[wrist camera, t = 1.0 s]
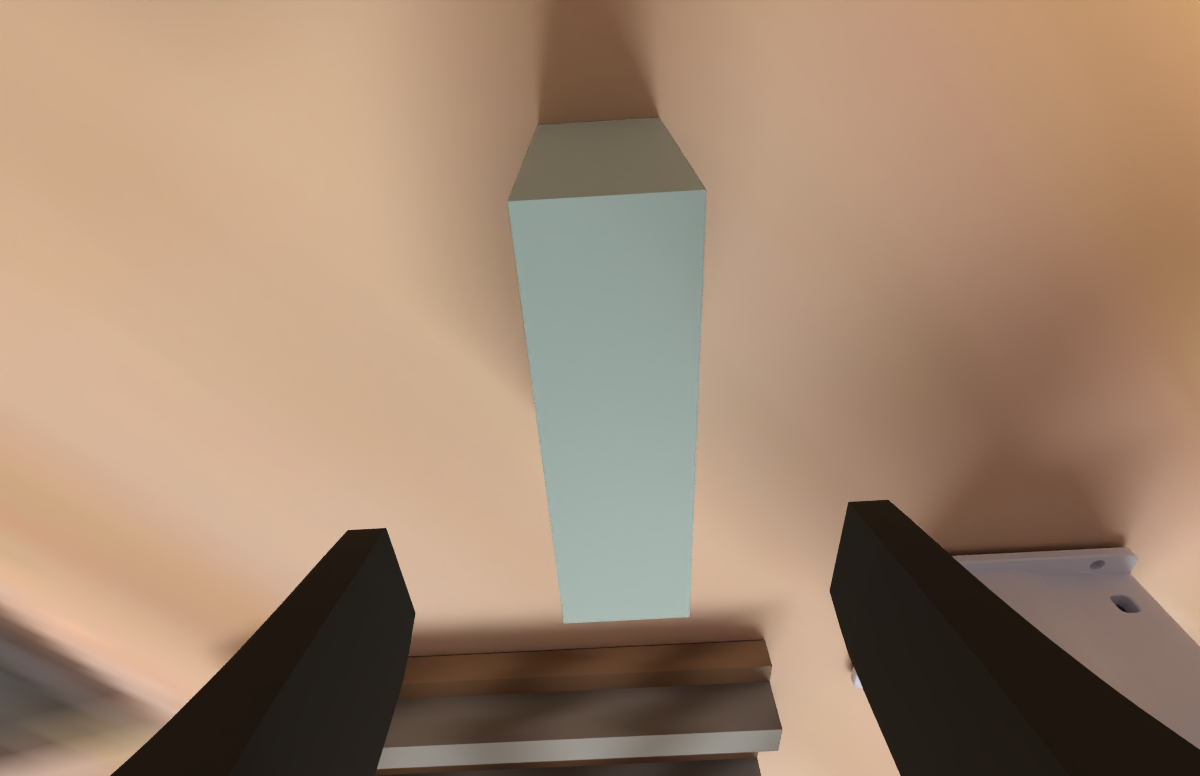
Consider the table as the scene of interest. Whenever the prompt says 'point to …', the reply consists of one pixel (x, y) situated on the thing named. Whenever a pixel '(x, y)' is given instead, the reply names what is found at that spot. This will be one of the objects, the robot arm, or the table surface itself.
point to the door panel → (614, 357)
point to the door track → (584, 678)
